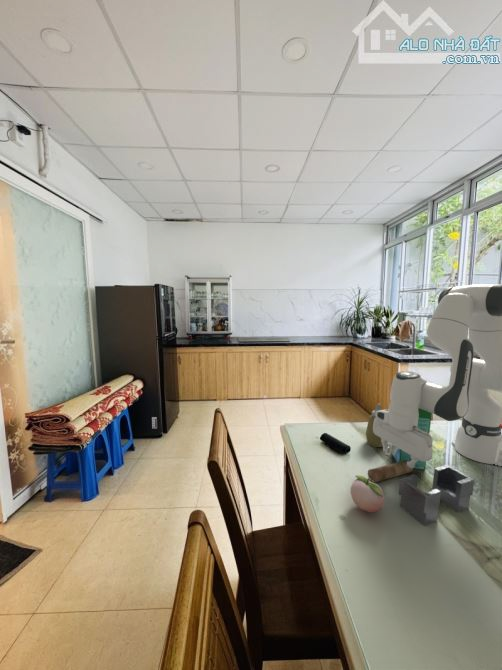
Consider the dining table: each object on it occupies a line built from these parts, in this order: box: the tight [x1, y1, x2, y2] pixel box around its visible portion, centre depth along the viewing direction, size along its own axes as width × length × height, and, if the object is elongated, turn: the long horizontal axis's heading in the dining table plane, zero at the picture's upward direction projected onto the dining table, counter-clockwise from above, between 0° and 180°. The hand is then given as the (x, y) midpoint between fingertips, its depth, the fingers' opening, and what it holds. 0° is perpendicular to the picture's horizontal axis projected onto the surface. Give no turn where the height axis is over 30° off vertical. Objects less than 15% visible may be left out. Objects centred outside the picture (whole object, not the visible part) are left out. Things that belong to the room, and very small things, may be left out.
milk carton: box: [391, 408, 433, 471], centre depth 104 cm, size 9×9×25 cm
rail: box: [367, 460, 414, 483], centre depth 96 cm, size 17×4×4 cm
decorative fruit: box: [350, 474, 386, 513], centre depth 79 cm, size 9×8×10 cm
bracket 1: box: [398, 474, 441, 527], centre depth 79 cm, size 6×8×9 cm
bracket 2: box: [431, 464, 475, 513], centre depth 84 cm, size 6×8×9 cm
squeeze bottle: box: [365, 403, 383, 448], centre depth 117 cm, size 8×8×18 cm
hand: (397, 459), depth 93 cm, fingers open, 8 cm apart
